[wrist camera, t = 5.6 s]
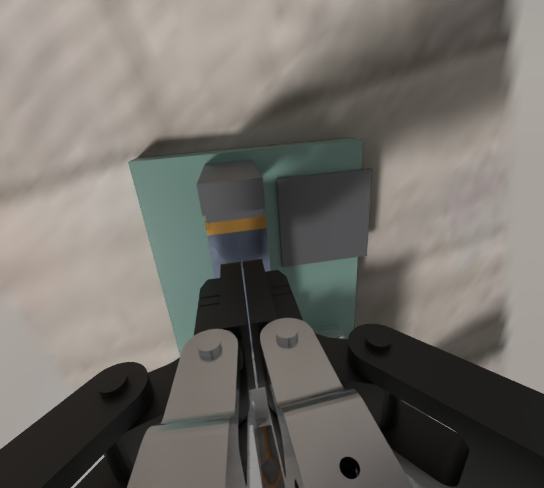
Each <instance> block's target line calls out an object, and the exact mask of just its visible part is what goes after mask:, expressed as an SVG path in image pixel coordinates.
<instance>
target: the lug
mask: <svg viewBox="0 0 544 488" xmlns="http://www.w3.org/2000/svg"><path fill="white" fill-rule="evenodd" d="M196 185H197V190H198V196H199V201H200V207H201V212H202V216H206V222H207V223H213V222H221V221H229V220H238V219H246V218H254V217H263V209H265V198H264V186H263V177H262V175H261V174H260V172H259V171H258V169H257V168H256V166H255V164H254V163H253V161H252V160H246V161H236V162H226V163H216V164H206V165H204V167H203V170H202V172H201V175H200V177H199V179H198V182H197V184H196Z"/></svg>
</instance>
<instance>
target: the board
mask: <svg viewBox="0 0 544 488" xmlns="http://www.w3.org/2000/svg"><path fill="white" fill-rule="evenodd" d="M362 156H363V139H358V138H344V139H333V140H323V141H312V142H301V143H291V144H280V145H270V146H259V147H249V148H238V149H228V150H217V151H207V152H196V153H186V154H175V155H165V156H154V157H144V158H136V159H134V160H131V161H129V162H128V163H129V167H130V170H131V174H132V178H133V181H134V185H135V189H136V193H137V196H138V200H139V204H140V208H141V211H142V215H143V219H144V223H145V226H146V230H147V234H148V237H149V241H150V245H151V249H152V252H153V256H154V260H155V264H156V267H157V271H158V275H159V279H160V282H161V286H162V290H163V293H164V297H165V301H166V305H167V308H168V312H169V316H170V320H171V323H172V327H173V331H174V335H175V338H176V342H177V346H178V349H179V353H180V356H181V353H182V350H183V347H184V345H185V344H186V343H187V342H188V340H190V339H191V338H192V337H193V336H194V329H195V322H196V315H197V308H198V300H199V293H200V288H201V287H202V286H203V284H204V283H205V282H206V281H207V280H208V279H215V277H214V272H213V266H212V260H211V254H210V249H209V243H208V237H207V231H206V225H205V218H206V216H202V212H201V207H200V201H199V196H198V190H197V185H196V184H197V182H198V179H199V177H200V175H201V172H202V170H203V167H204V165H206V164H216V163H226V162H236V161H246V160H252V161H253V163H254V164H255V166H256V168H257V169H258V171H259V172H260V174H261V175H262V177H263V186H264V198H265V209H263V210H264V212H265V215H266V226H267V237H268V247H269V258H270V268H271V271H273V270H279V271H280V272H281V273H283V274H284V275H285V276H286V277H287V279H288V282H289V284H290V287H291V290H292V293H293V295H294V298H295V300H296V303H297V306H298V308H299V311H300V313H301V316H302V319H303V321H304V322H306V323H307V324H308V325H309V326H310V327H311V328H318V327H324V326H330V325H336V324H338V325H339V327H340V329H341V331H342V332H343V334H344V339H348V336H349V334H350V332H351V331H352V330H353V329H354V323H355V302H356V281H357V261H358V257H361V256H367V244H368V228H369V211H370V195H371V179H372V169H370V168H369V169H362Z"/></svg>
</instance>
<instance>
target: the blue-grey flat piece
mask: <svg viewBox="0 0 544 488" xmlns="http://www.w3.org/2000/svg"><path fill="white" fill-rule="evenodd" d="M205 225H206V231H207V237H208V243H209V249H210V254H211V260H212V266H213V272H214V277H215V278H220V265H221V264H226V263H233V262H241V269H242V276H243V284H244V291H245V299H246V307H247V315H248V324H249V332H250V341H251V350H252V359H253V361H254V352H253V344H252V337H251V329H250V321H249V313H248V305H247V296H246V288H245V280H244V271H243V263H242V261H248V260H255V259H262V261H263V265H264V269H265V272H266V271H271V268H270V258H269V247H268V237H267V226H266V215H265V212H264V210H263V217H254V218H246V219H238V220H229V221H221V222H213V223H207V222H206V218H205Z"/></svg>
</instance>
